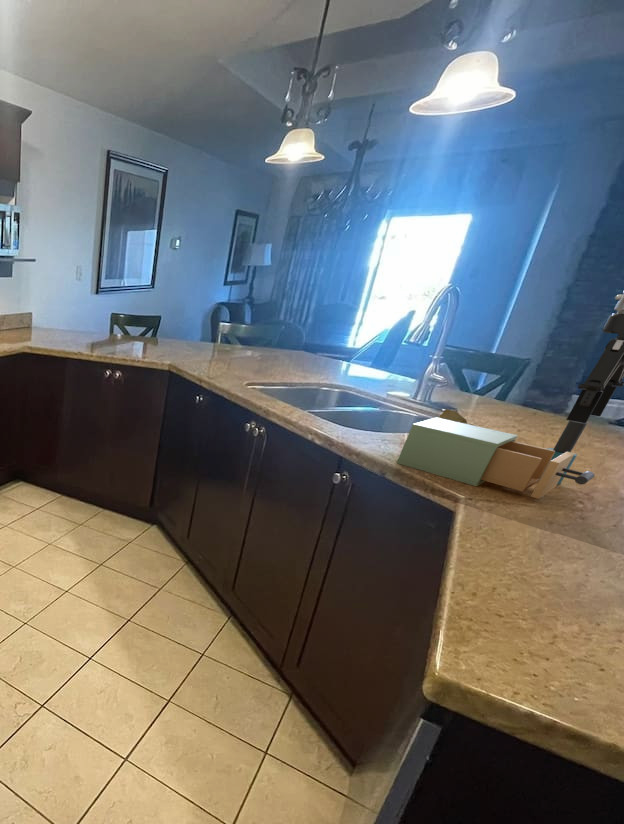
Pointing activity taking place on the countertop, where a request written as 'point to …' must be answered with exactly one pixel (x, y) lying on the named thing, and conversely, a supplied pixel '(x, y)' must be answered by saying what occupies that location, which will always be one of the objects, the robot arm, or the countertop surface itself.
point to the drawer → (530, 468)
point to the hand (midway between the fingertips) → (583, 418)
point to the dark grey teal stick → (567, 442)
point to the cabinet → (452, 449)
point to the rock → (452, 416)
